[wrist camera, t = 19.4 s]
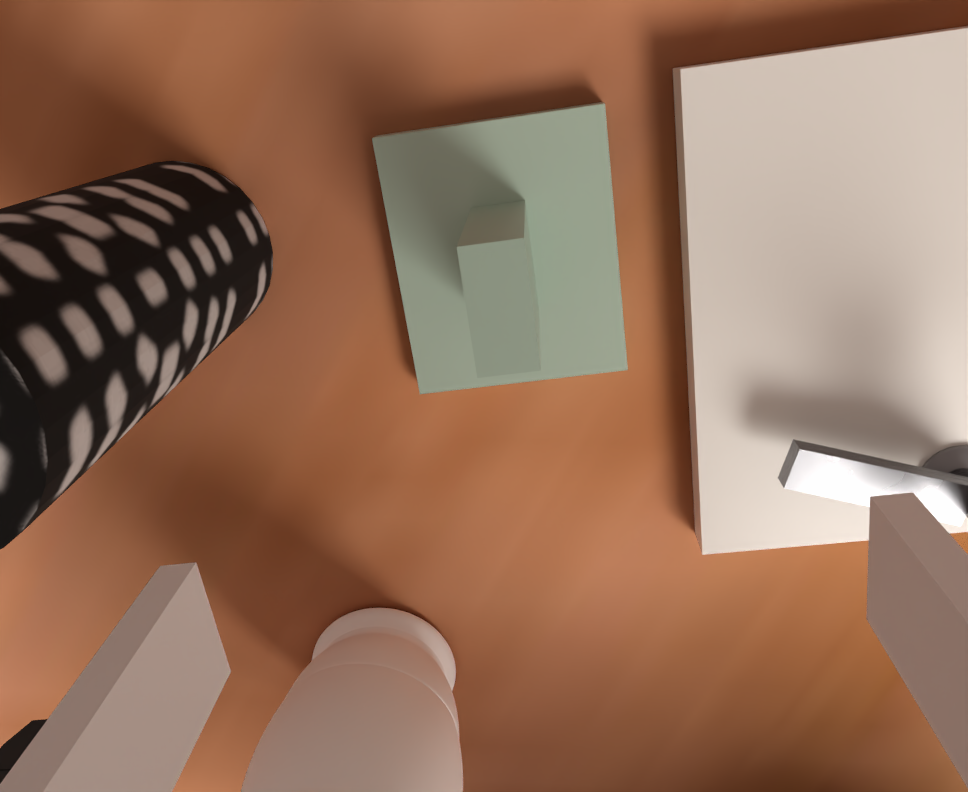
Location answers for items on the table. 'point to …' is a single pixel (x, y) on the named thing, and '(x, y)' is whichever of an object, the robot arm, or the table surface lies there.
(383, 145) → the cover
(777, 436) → the lock base
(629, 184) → the table surface
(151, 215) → the white-spotted black cylinder
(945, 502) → the grey angled block piece
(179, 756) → the robot arm
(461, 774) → the jar
